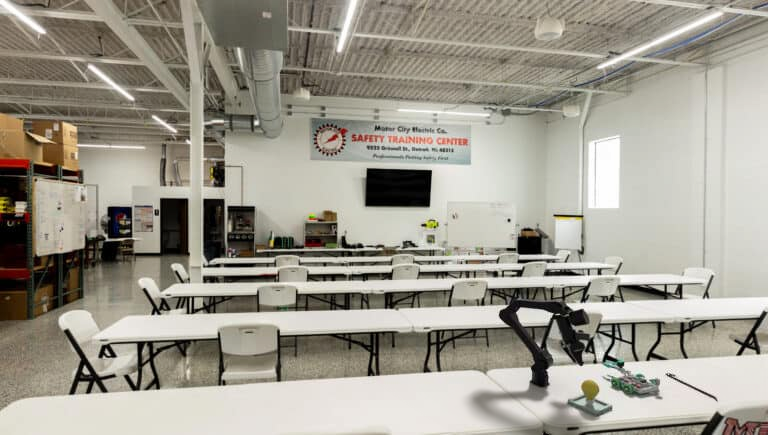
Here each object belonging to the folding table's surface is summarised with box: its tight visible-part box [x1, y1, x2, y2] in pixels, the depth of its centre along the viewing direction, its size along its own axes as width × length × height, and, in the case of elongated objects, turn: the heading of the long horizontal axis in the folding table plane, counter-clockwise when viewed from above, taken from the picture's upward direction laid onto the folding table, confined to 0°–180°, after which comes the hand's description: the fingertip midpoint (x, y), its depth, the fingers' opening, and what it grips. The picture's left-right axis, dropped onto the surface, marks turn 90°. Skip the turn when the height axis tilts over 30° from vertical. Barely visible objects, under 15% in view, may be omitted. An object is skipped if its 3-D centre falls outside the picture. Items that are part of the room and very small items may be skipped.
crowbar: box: [665, 372, 718, 401], centre depth 189 cm, size 28×1×5 cm
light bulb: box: [580, 379, 600, 406], centre depth 167 cm, size 7×7×10 cm
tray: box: [567, 392, 613, 417], centre depth 167 cm, size 12×12×2 cm
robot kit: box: [601, 359, 661, 395], centre depth 191 cm, size 19×25×9 cm
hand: (578, 364), depth 176 cm, fingers open, 9 cm apart
